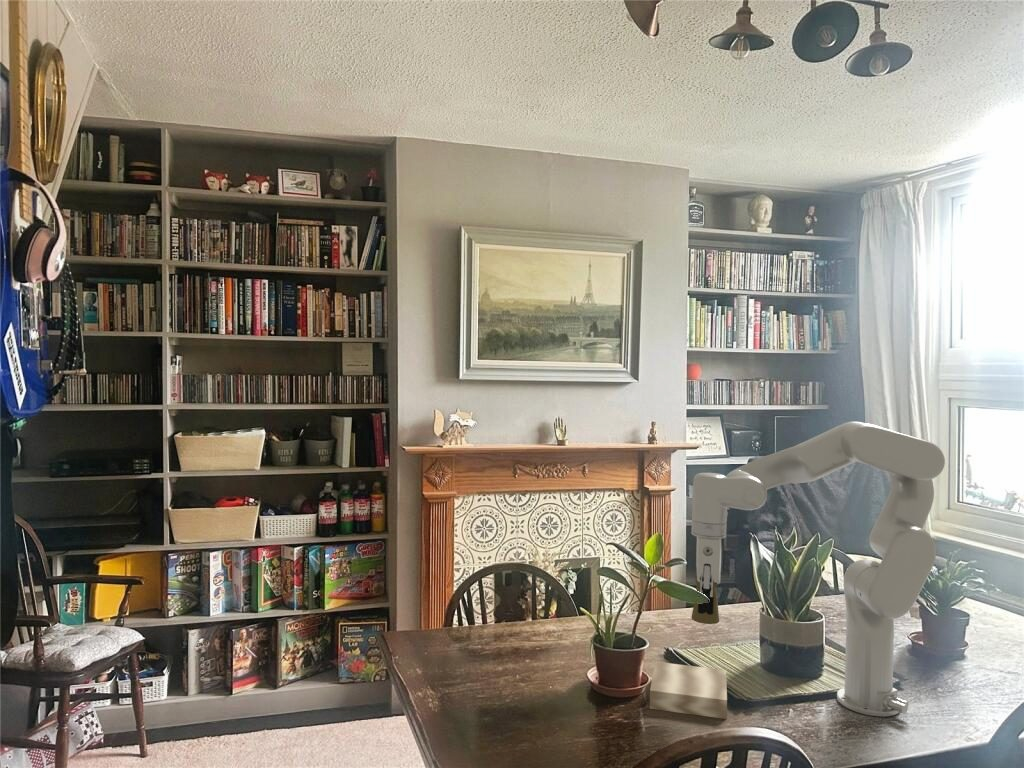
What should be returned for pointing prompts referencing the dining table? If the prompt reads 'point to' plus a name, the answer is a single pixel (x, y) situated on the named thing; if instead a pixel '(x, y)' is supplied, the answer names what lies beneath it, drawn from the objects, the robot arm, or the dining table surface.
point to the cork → (706, 617)
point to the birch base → (689, 690)
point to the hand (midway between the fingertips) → (705, 609)
